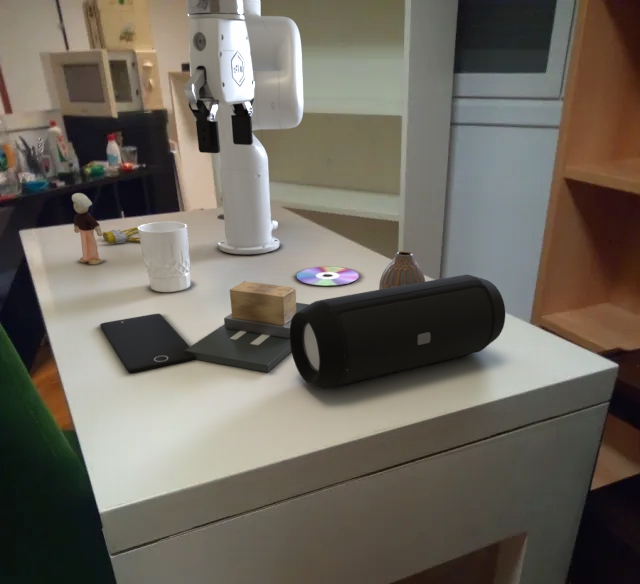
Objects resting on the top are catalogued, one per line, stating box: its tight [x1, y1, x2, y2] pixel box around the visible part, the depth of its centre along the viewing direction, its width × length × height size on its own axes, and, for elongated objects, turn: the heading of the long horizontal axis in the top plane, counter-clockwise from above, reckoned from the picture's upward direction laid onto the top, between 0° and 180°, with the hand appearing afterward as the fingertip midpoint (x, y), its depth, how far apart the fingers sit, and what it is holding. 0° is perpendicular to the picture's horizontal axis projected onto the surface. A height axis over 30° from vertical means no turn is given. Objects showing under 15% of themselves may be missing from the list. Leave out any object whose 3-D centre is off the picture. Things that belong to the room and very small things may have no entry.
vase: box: [378, 250, 426, 290], centre depth 88 cm, size 7×7×9 cm
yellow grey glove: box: [102, 226, 141, 244], centre depth 132 cm, size 12×16×2 cm
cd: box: [296, 266, 360, 287], centre depth 106 cm, size 11×11×1 cm
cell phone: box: [99, 313, 197, 375], centre depth 81 cm, size 9×18×1 cm, turn 29°
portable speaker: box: [290, 274, 506, 388], centre depth 71 cm, size 26×10×10 cm, turn 117°
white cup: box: [137, 220, 192, 293], centre depth 99 cm, size 8×8×10 cm
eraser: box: [223, 280, 297, 338], centre depth 81 cm, size 10×5×6 cm, turn 67°
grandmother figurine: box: [71, 192, 103, 266], centre depth 112 cm, size 8×4×13 cm, turn 68°
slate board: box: [185, 302, 311, 373], centre depth 83 cm, size 22×12×1 cm, turn 157°
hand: (227, 148), depth 88 cm, fingers open, 9 cm apart
